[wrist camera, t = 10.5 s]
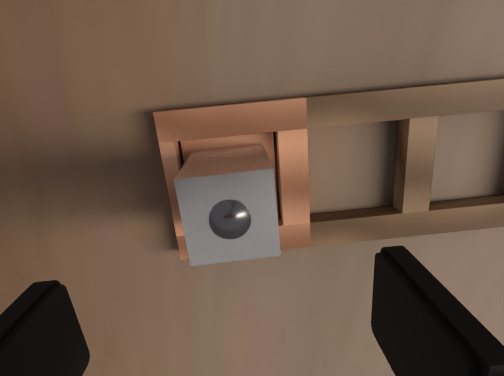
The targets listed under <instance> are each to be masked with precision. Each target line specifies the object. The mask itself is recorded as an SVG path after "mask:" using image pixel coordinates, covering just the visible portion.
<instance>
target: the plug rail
mask: <svg viewBox="0 0 504 376" xmlns="http://www.w3.org/2000/svg"><path fill="white" fill-rule="evenodd" d="M495 110H504V78H497V79H486V80H476V81H465V82H455V83H444V84H434V85H423V86H413V87H402V88H392V89H381V90H371V91H360V92H350V93H339V94H329V95H318V96H308V97H297V98H287V99H276V100H266V101H255V102H245V103H234V104H223V105H213V106H202V107H192V108H181V109H171V110H160V111H156V112H153V116H154V121H155V126H156V132H157V137H158V142H159V147H160V153H161V158H162V163H163V168H164V174H165V179H166V184H167V189H168V195H169V200H170V205H171V210H172V216H173V221H174V226H175V231H176V237H177V242H178V247H179V252H180V258H181V260H184V259H189V255H188V250H187V245H186V240H185V235H184V230H183V225H182V220H181V215H180V210H179V205H178V200H177V195H176V190H175V185H174V178H175V177H176V176H177V174H178V173H179V171H180V170H181V168H182V167H183V166H182V160H181V154H180V148H179V142H178V141H180V142H181V148H182V154H183V160H184V164H185V163H186V161H187V160H188V158H189V157H190V155H191V154H192V152H193V151H201V150H210V149H219V148H227V147H236V146H245V145H254V144H263V146H264V148H265V150H266V153H267V155H268V157H269V159H270V162H271V164H272V166H273V168H274V180H275V191H276V203H277V215H278V201H277V186H276V171H275V156H274V141H273V132H275V136H276V151H277V167H278V183H279V198H280V214H281V217H279V216H278V217H279V218H278V227H279V239H280V250H281V249H291V248H300V247H310V246H320V245H330V244H339V243H349V242H359V241H368V240H378V239H388V238H398V237H407V236H417V235H427V234H437V233H446V232H456V231H466V230H475V229H485V228H495V227H504V194H503V195H497V196H487V197H477V198H467V199H457V200H447V201H437V202H430V194H431V185H432V176H433V167H434V158H435V148H436V139H437V130H438V121H439V116H443V115H454V114H464V113H474V112H485V111H495ZM392 120H398V133H397V148H396V163H395V178H394V193H393V206H388V207H378V208H368V209H358V210H348V211H338V212H329V213H319V214H310V205H309V171H308V137H307V129H309V128H319V127H330V126H340V125H350V124H361V123H371V122H381V121H392Z"/></svg>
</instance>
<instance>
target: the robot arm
mask: <svg viewBox="0 0 504 376" xmlns="http://www.w3.org/2000/svg"><path fill="white" fill-rule="evenodd" d="M371 326H372V331H373V334H374V336H375V338H376V340H377V342H378V344H379V346H380V348H381V349H382V351H383V353H384V355H385V357H386V359H387V361H388V363H389V364H390V366H391V368H392V370H393V372H394V374H395V376H504V346H503V345H502V344H501V343H500V342H499V341H498V340H497V339H496V338H495V337H494V336H493V335H492V334H491V333H490V332H489V331H488V330H487V329H486V328H485V327H484V326H483V325H482V324H481V323H480V322H479V321H478V320H477V319H476V318H475V317H474V316H473V315H472V314H471V313H470V312H469V311H468V310H467V309H466V308H465V307H464V306H463V305H462V304H461V303H460V302H459V301H458V300H457V299H456V298H455V297H454V296H453V295H452V294H451V293H450V292H449V291H448V290H447V289H446V288H445V287H444V286H443V285H442V284H441V283H440V282H439V281H438V280H437V279H436V278H435V277H434V276H433V275H432V274H431V273H430V272H429V271H428V270H427V269H426V268H425V267H424V266H423V265H422V264H421V263H420V262H419V261H418V260H417V259H416V258H415V257H414V256H413V255H412V254H411V253H410V252H409V251H408V250H407V249H406V248H405V247H404V246H392V247H383V248H382V249H381V251H380V253H376V255H375V265H374V282H373V299H372V317H371ZM89 358H90V353H89V350H88V347H87V344H86V341H85V338H84V336H83V333H82V330H81V327H80V325H79V322H78V319H77V316H76V313H75V311H74V308H73V305H72V302H71V300H70V297H69V294H68V291H67V289H66V287H65V286H64V285H61V284H60V282H59V281H56V280H52V281H42V282H35V283H33V284H32V285H30V286H29V287H28V288H27V289H26V290H25V291H24V292H23V293H22V294H21V295H20V296H19V297H18V298H17V299H16V300H15V301H14V302H13V303H12V304H11V305H10V306H9V307H8V308H7V309H6V310H5V311H4V312H3V313H2V314H1V315H0V376H82V375H83V373H84V371H85V369H86V367H87V365H88V363H89Z"/></svg>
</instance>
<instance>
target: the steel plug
mask: <svg viewBox="0 0 504 376" xmlns="http://www.w3.org/2000/svg"><path fill="white" fill-rule="evenodd" d="M174 185H175V190H176V195H177V200H178V205H179V210H180V215H181V220H182V225H183V230H184V235H185V240H186V245H187V250H188V255H189V260H190V265H191V266H197V265H205V264H214V263H223V262H231V261H240V260H248V259H257V258H265V257H274V256H281V251H280V239H279V227H278V215H277V203H276V191H275V180H274V168H273V166H272V164H271V162H270V159H269V157H268V155H267V153H266V150H265V148H264V146H263V144H254V145H245V146H236V147H227V148H219V149H210V150H201V151H193V152H192V154H191V155H190V157H189V158H188V160H187V161H186V163H185V164H184V165H183V167H182V168H181V170H180V171H179V173H178V174H177V176H176V177H175V178H174Z"/></svg>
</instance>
